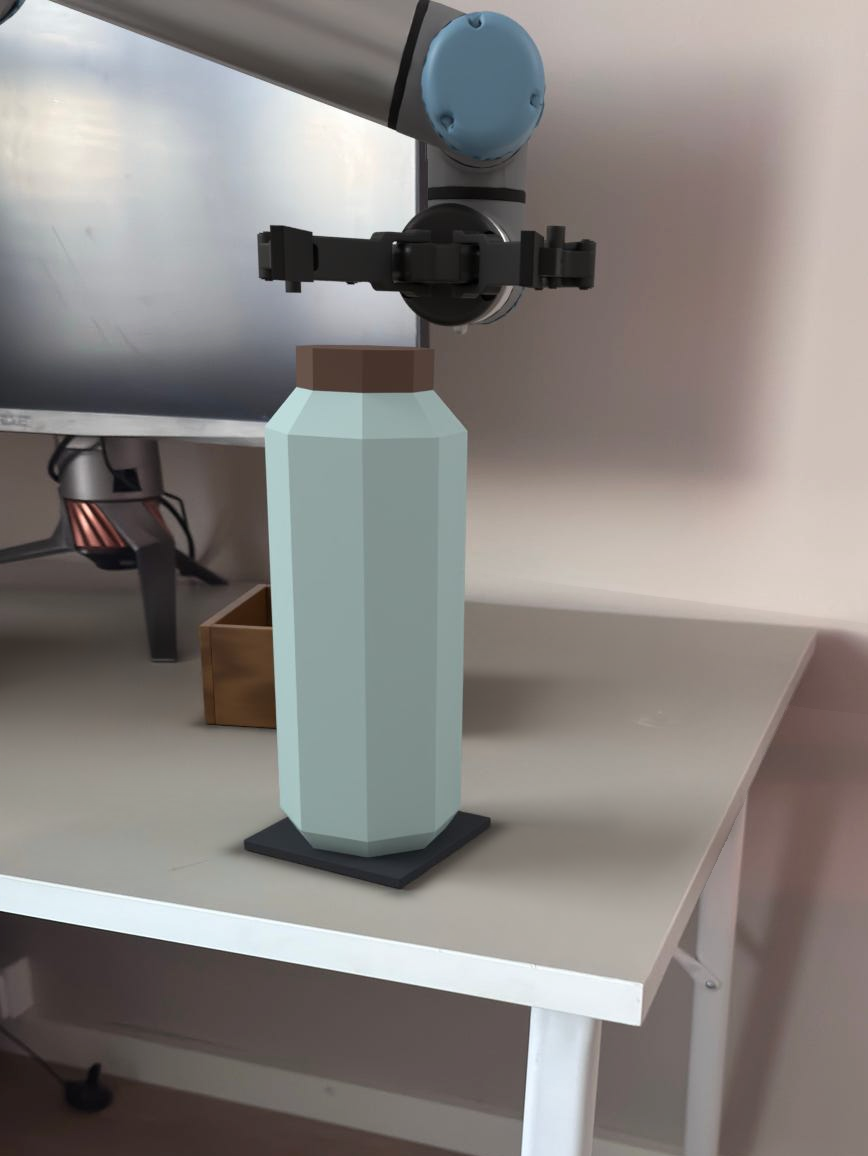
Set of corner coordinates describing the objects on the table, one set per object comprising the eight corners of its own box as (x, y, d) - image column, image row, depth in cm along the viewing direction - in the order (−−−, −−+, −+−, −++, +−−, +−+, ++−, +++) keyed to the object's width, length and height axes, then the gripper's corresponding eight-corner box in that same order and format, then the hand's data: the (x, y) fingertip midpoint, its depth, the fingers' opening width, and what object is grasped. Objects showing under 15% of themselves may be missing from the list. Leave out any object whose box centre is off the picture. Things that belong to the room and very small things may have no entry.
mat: (243, 849, 70) (243, 839, 70) (345, 794, 78) (345, 785, 78) (400, 889, 66) (400, 878, 65) (490, 826, 74) (491, 817, 74)
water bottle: (366, 880, 65) (358, 352, 55) (243, 827, 71) (217, 343, 61) (497, 828, 72) (511, 350, 62) (374, 784, 78) (370, 342, 68)
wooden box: (204, 723, 90) (198, 625, 88) (262, 670, 104) (258, 583, 101) (409, 736, 89) (409, 637, 86) (440, 680, 102) (441, 592, 99)
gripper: (633, 331, 89) (628, 337, 69) (281, 320, 91) (181, 324, 72) (642, 209, 86) (639, 181, 66) (277, 202, 88) (171, 173, 69)
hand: (400, 255), depth 69 cm, fingers open, 13 cm apart
